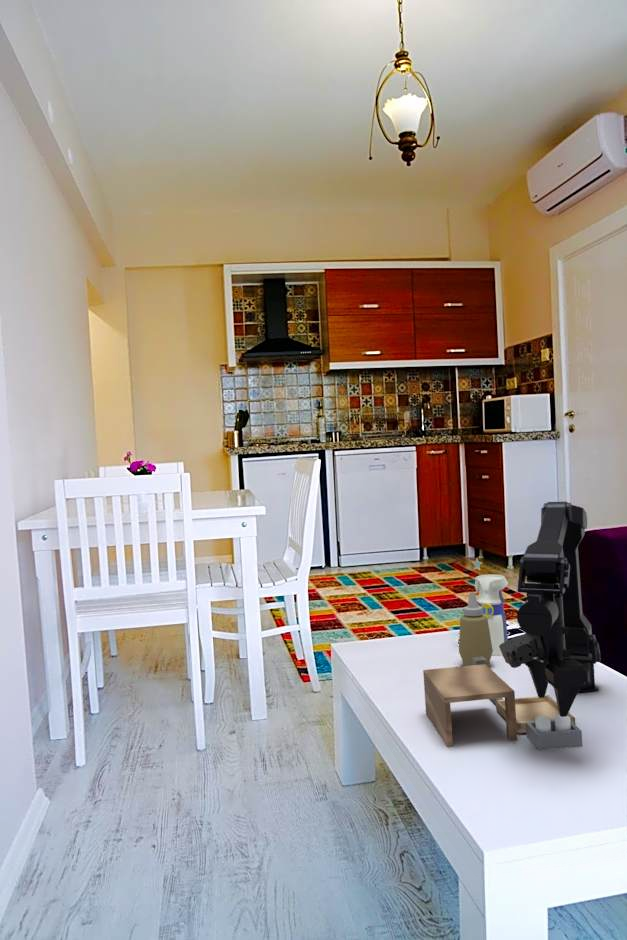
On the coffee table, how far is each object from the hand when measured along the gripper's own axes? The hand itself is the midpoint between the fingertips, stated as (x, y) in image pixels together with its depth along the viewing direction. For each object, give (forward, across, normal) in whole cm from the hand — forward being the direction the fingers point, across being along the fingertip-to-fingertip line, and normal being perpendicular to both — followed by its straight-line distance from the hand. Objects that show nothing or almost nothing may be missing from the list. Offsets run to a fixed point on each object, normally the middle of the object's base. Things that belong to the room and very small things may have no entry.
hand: (551, 706), depth 123 cm
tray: (+7, 0, 0) cm, 7 cm away
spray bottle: (+7, -54, +8) cm, 55 cm away
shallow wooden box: (+6, -18, 0) cm, 19 cm away
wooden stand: (+6, -10, -13) cm, 17 cm away
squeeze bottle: (+7, -44, 0) cm, 44 cm away
